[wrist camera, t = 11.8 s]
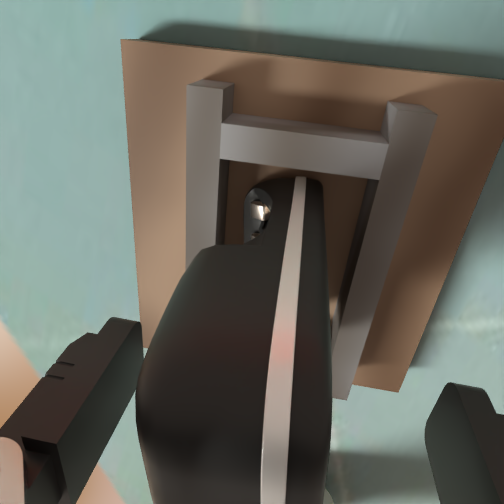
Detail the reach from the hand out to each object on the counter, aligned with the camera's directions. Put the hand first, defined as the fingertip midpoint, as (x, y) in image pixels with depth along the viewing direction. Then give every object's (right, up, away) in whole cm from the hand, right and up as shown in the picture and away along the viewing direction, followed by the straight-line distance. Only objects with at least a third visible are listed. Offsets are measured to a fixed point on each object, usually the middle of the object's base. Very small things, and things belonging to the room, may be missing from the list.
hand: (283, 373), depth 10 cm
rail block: (+1, +4, +8) cm, 9 cm away
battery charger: (0, +4, +7) cm, 8 cm away
